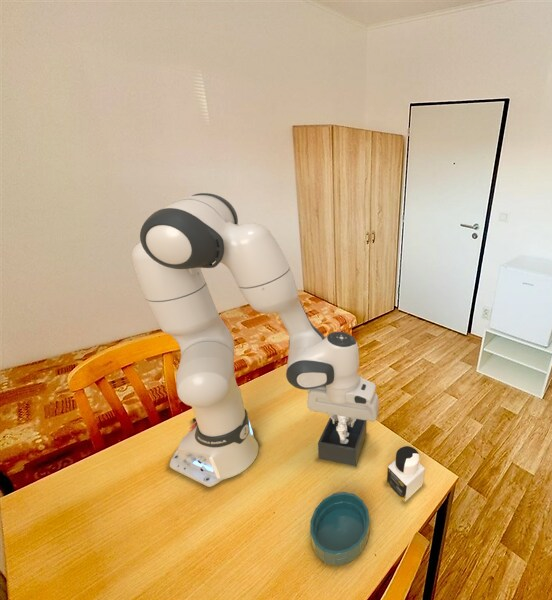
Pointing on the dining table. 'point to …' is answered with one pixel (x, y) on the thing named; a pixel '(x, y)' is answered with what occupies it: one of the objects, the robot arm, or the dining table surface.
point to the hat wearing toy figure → (342, 429)
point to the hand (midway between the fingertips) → (343, 423)
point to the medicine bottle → (405, 473)
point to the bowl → (339, 528)
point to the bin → (342, 452)
